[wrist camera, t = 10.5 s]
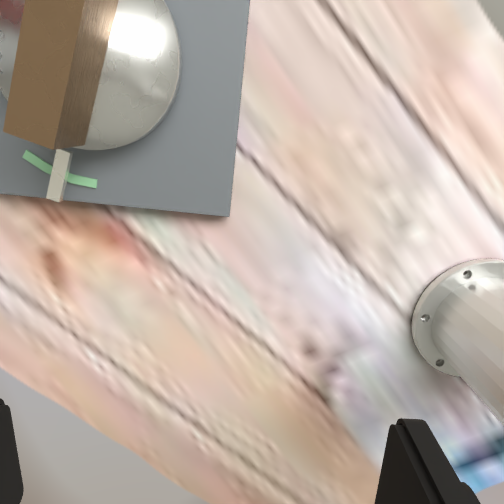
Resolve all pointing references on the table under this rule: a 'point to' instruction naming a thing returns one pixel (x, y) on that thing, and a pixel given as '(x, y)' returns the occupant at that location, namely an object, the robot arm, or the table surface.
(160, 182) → the dial plate
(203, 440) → the table surface
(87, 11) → the tuning dial
